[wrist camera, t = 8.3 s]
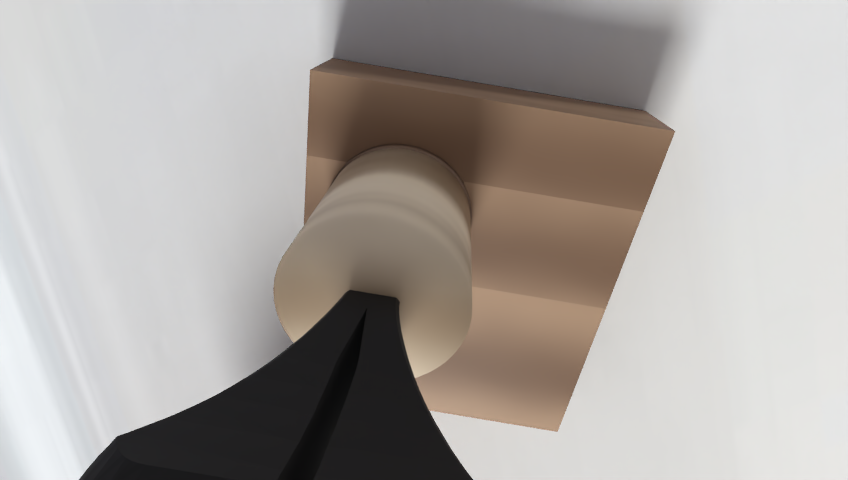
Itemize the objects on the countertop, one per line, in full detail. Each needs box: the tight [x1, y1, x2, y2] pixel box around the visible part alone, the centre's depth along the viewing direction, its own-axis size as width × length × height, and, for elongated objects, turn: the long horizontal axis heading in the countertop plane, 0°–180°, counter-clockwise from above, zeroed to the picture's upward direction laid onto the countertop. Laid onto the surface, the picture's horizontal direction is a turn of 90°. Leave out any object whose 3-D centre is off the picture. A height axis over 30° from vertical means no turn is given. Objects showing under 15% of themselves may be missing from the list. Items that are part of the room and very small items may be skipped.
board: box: [304, 58, 675, 432], centre depth 20 cm, size 14×12×3 cm
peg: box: [273, 144, 472, 378], centre depth 17 cm, size 5×5×8 cm
